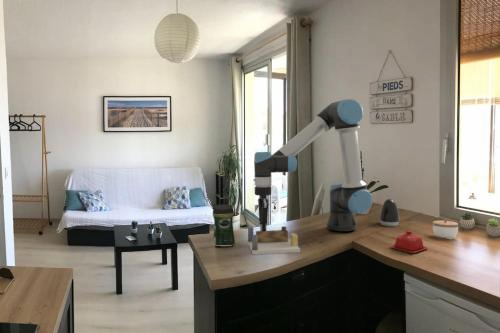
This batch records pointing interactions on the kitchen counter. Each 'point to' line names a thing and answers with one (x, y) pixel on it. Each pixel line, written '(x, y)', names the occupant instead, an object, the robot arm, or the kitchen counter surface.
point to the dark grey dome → (389, 213)
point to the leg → (272, 235)
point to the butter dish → (409, 243)
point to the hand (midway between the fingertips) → (263, 237)
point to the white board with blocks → (272, 245)
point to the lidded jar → (445, 229)
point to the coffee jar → (223, 225)
